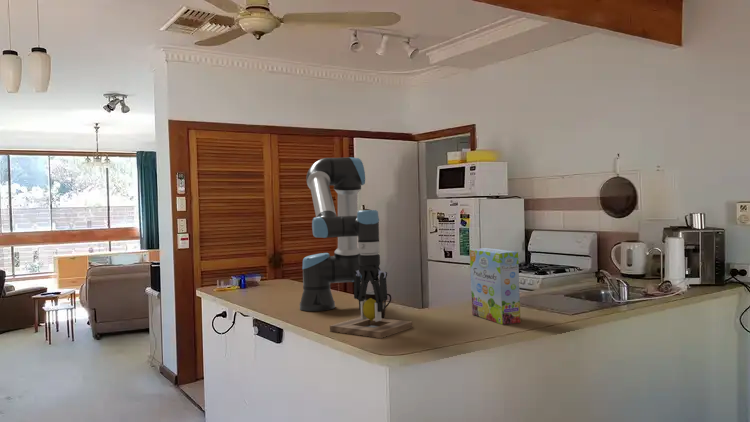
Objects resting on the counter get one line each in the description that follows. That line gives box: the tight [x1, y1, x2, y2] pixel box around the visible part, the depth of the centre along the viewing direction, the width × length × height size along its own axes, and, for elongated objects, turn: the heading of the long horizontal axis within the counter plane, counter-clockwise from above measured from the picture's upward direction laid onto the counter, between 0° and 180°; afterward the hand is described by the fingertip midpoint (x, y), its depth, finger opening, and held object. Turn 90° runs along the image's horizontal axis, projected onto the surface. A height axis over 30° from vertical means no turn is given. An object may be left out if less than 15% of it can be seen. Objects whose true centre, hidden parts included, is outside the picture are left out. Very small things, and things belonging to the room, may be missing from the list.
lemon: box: [363, 298, 376, 321], centre depth 198 cm, size 6×6×8 cm
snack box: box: [469, 247, 522, 326], centre depth 210 cm, size 22×9×26 cm, turn 21°
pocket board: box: [329, 316, 413, 339], centre depth 198 cm, size 22×19×2 cm
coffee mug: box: [365, 290, 392, 319], centre depth 218 cm, size 12×9×10 cm
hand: (371, 320), depth 198 cm, fingers closed on lemon, 5 cm apart
